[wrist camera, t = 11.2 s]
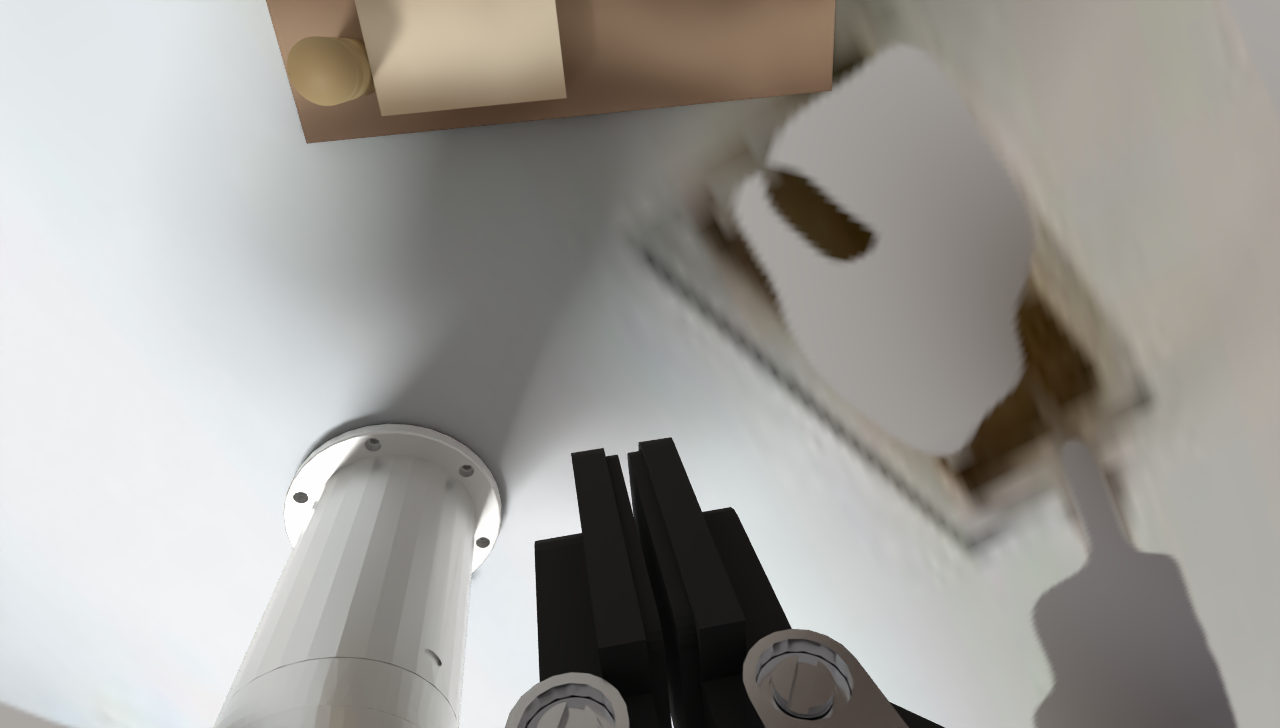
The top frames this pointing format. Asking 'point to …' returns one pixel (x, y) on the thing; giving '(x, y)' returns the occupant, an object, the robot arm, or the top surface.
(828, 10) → the board
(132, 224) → the top surface
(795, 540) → the top surface
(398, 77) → the cream rectangular slab
